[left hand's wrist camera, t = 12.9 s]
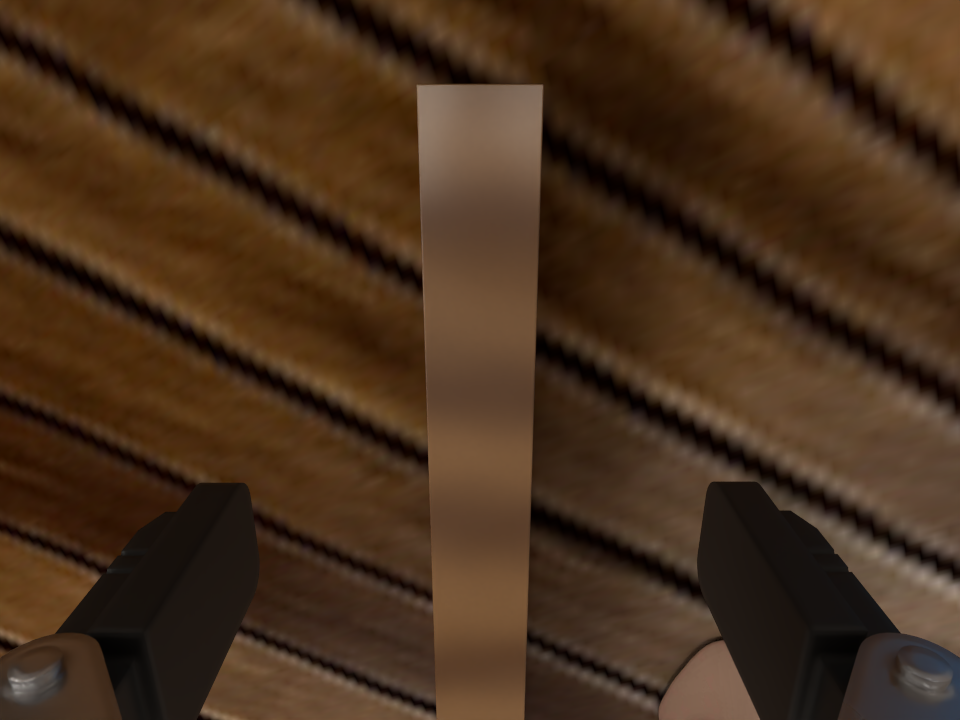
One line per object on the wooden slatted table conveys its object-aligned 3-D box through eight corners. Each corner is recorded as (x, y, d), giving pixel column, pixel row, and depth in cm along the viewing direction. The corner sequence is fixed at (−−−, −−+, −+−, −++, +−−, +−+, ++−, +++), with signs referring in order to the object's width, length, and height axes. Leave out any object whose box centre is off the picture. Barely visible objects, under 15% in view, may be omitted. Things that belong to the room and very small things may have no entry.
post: (428, 88, 30) (416, 83, 24) (531, 88, 30) (544, 83, 24) (449, 881, 49) (445, 982, 43) (512, 881, 49) (516, 982, 43)
